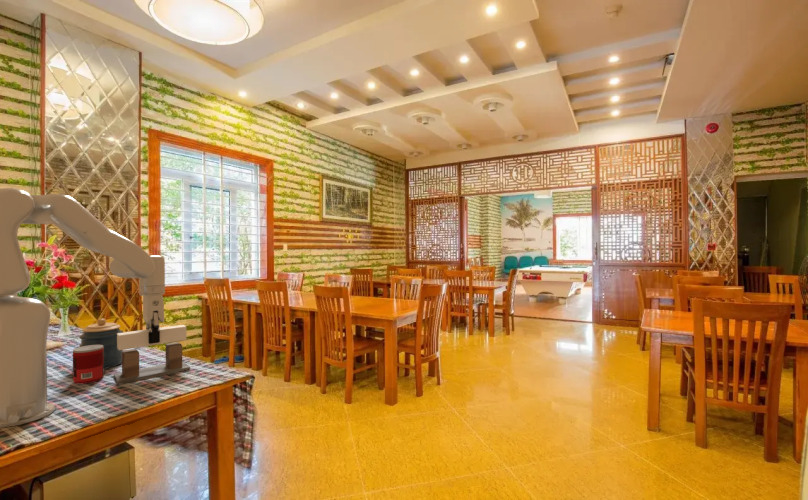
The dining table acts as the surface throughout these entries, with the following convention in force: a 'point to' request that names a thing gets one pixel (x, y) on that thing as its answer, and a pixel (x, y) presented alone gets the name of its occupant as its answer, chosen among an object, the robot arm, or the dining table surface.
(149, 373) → the post stand
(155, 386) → the dining table surface
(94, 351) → the canned food
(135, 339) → the shelf board
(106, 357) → the canister
